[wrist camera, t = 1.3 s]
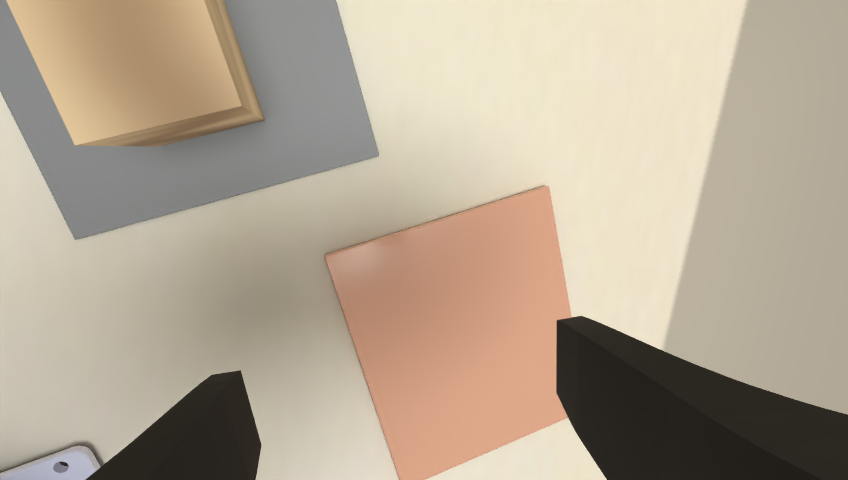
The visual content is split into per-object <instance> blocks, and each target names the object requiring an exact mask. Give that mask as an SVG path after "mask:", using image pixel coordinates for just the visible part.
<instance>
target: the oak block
mask: <svg viewBox="0 0 848 480" xmlns="http://www.w3.org/2000/svg"><path fill="white" fill-rule="evenodd" d="M6 1H7V3H8V5H9V7H10V9H11V12H12V14H13V16H14V18H15V20H16V22H17V24H18V26H19V28H20V31H21V33H22V35H23V37H24V39H25V41H26V43H27V45H28V47H29V50H30V52H31V54H32V56H33V58H34V60H35V62H36V64H37V66H38V69H39V71H40V73H41V75H42V77H43V79H44V81H45V83H46V85H47V88H48V90H49V92H50V94H51V96H52V98H53V100H54V102H55V104H56V107H57V109H58V111H59V113H60V115H61V117H62V119H63V121H64V123H65V126H66V128H67V130H68V132H69V134H70V136H71V138H72V140H73V143H74V145H75V146H147V147H160V146H164V145H168V144H172V143H176V142H180V141H184V140H188V139H192V138H196V137H200V136H204V135H209V134H213V133H217V132H221V131H225V130H229V129H233V128H237V127H241V126H245V125H249V124H253V123H257V122H261V121H265V117H264V115H263V112H262V109H261V106H260V103H259V100H258V97H257V94H256V91H255V88H254V86H253V83H252V80H251V77H250V74H249V71H248V68H247V65H246V62H245V59H244V57H243V54H242V51H241V48H240V45H239V42H238V39H237V36H236V33H235V31H234V28H233V25H232V22H231V19H230V16H229V13H228V10H227V7H226V4H225V2H224V0H6Z"/></svg>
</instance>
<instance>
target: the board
mask: <svg viewBox="0 0 848 480" xmlns="http://www.w3.org/2000/svg"><path fill="white" fill-rule="evenodd" d="M325 259H326V262H327V265H328V268H329V271H330V274H331V277H332V280H333V283H334V286H335V289H336V291H337V294H338V297H339V300H340V303H341V306H342V309H343V312H344V315H345V318H346V321H347V324H348V327H349V330H350V333H351V336H352V339H353V342H354V345H355V348H356V351H357V354H358V357H359V360H360V363H361V366H362V369H363V372H364V375H365V378H366V381H367V384H368V387H369V390H370V393H371V395H372V398H373V401H374V404H375V407H376V410H377V413H378V416H379V419H380V422H381V425H382V428H383V431H384V434H385V437H386V440H387V443H388V446H389V449H390V452H391V455H392V458H393V461H394V464H395V467H396V470H397V473H398V476H399V479H400V480H425V479H428V478H430V477H432V476H435V475H437V474H439V473H442V472H444V471H446V470H448V469H451V468H453V467H455V466H458V465H460V464H462V463H465V462H467V461H469V460H471V459H474V458H476V457H478V456H481V455H483V454H485V453H488V452H490V451H492V450H494V449H497V448H499V447H501V446H504V445H506V444H508V443H511V442H513V441H515V440H517V439H520V438H522V437H524V436H527V435H529V434H531V433H534V432H536V431H538V430H540V429H543V428H545V427H547V426H550V425H552V424H554V423H557V422H559V421H561V420H563V419H566V418H568V416H567V414H566V412H565V410H564V408H563V406H562V404H561V401H560V399H559V397H558V395H557V393H556V346H557V320H560V319H566V318H572V317H571V311H570V306H569V300H568V294H567V288H566V282H565V277H564V271H563V265H562V259H561V253H560V248H559V242H558V236H557V230H556V224H555V219H554V213H553V207H552V201H551V195H550V190H549V186H543V187H539V188H536V189H533V190H530V191H527V192H523V193H520V194H517V195H514V196H511V197H508V198H504V199H501V200H498V201H495V202H492V203H488V204H485V205H482V206H479V207H476V208H472V209H469V210H466V211H463V212H460V213H457V214H453V215H450V216H447V217H444V218H441V219H437V220H434V221H431V222H428V223H425V224H422V225H418V226H415V227H412V228H409V229H406V230H402V231H399V232H396V233H393V234H390V235H386V236H383V237H380V238H377V239H374V240H371V241H367V242H364V243H361V244H358V245H355V246H351V247H348V248H345V249H342V250H339V251H336V252H332V253H329V254H326V255H325Z"/></svg>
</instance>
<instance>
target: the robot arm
mask: <svg viewBox="0 0 848 480" xmlns="http://www.w3.org/2000/svg"><path fill="white" fill-rule="evenodd" d="M556 393H557V395H558V397H559V399H560V401H561V404H562V406H563V408H564V410H565V412H566V414H567V416H568V418H569V420H570V422H571V424H572V426H573V428H574V430H575V431H576V433H577V435H578V436H579V438H580V439H581V441H582V442H583V444H584V446H585V447H586V449H587V450H588V452H589V453H590V455H591V456H592V458H593V459H594V461H595V462H596V464H597V465H598V467H599V468H600V470H601V471H602V473H603V474H604V476H605V477H606V479H607V480H848V415H847V414H843V413H839V412H836V411H832V410H828V409H824V408H821V407H818V406H814V405H811V404H807V403H804V402H801V401H797V400H794V399H791V398H788V397H784V396H782V395H779V394H776V393H773V392H770V391H766V390H763V389H760V388H757V387H754V386H751V385H748V384H745V383H743V382H740V381H737V380H734V379H731V378H729V377H726V376H723V375H721V374H718V373H716V372H713V371H711V370H708V369H706V368H703V367H700V366H698V365H695V364H693V363H690V362H688V361H686V360H683V359H681V358H678V357H676V356H674V355H671V354H669V353H666V352H664V351H662V350H660V349H657V348H655V347H653V346H651V345H648V344H646V343H644V342H642V341H639V340H637V339H635V338H633V337H630V336H628V335H626V334H624V333H622V332H619V331H617V330H615V329H613V328H610V327H608V326H606V325H603V324H601V323H599V322H596V321H594V320H591V319H589V318H586V317H583V316H578V317H572V318H566V319H560V320H557V346H556ZM260 450H261V442H260V438H259V435H258V431H257V428H256V424H255V421H254V417H253V413H252V410H251V406H250V403H249V399H248V395H247V392H246V388H245V385H244V381H243V377H242V374H241V370H240V371H234V372H228V373H221V374H215V375H211V376H210V377H208V378H207V379H206V380H204V381H203V382H202V383H200V384H199V385H198V386H197V387H196V388H194V389H193V390H192V391H191V392H190V393H188V394H187V395H186V396H185V397H184V398H183V399H181V400H180V401H179V402H178V403H177V404H176V405H174V406H173V407H172V408H171V409H170V410H169V411H168V412H166V413H165V414H164V415H163V416H162V417H161V418H159V419H158V420H157V421H156V422H155V423H154V424H152V425H151V426H150V427H149V428H148V429H147V430H145V431H144V432H143V433H142V434H141V435H140V436H138V437H137V438H136V439H135V440H134V441H133V442H131V443H130V444H129V445H128V446H127V447H125V448H124V449H123V450H122V451H120V452H119V453H118V454H117V455H115V456H114V457H113V458H112V459H110V460H109V461H108V462H107V463H105V464H104V465H103V466H102V467H100V465H99V463H98V461H97V460H96V458H95V456H94V454H93V453H92V451H91V450H90V449H89V448H87V447H85V446H75V447H71V448H68V449H66V450H63V451H60V452H57V453H54V454H52V455H49V456H46V457H43V458H41V459H38V460H35V461H32V462H29V463H27V464H24V465H21V466H18V467H16V468H13V469H10V470H7V471H4V472H2V473H0V480H255V479H256V474H257V468H258V462H259V456H260ZM61 461H62V462H66V463H67V464H68V466H63V465H61V464H60V463H59V462H61Z"/></svg>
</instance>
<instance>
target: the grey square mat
mask: <svg viewBox="0 0 848 480" xmlns="http://www.w3.org/2000/svg"><path fill="white" fill-rule="evenodd" d="M224 2H225V4H226V7H227V10H228V13H229V16H230V19H231V22H232V25H233V28H234V31H235V33H236V36H237V39H238V42H239V45H240V48H241V51H242V54H243V57H244V59H245V62H246V65H247V68H248V71H249V74H250V77H251V80H252V83H253V86H254V88H255V91H256V94H257V97H258V100H259V103H260V106H261V109H262V112H263V115H264V117H265V121H261V122H257V123H253V124H249V125H245V126H241V127H237V128H233V129H229V130H225V131H221V132H217V133H213V134H209V135H204V136H200V137H196V138H192V139H188V140H184V141H180V142H176V143H172V144H168V145H164V146H160V147H147V146H75V145H74V143H73V140H72V138H71V136H70V134H69V132H68V130H67V128H66V126H65V123H64V121H63V119H62V117H61V115H60V113H59V111H58V109H57V107H56V104H55V102H54V100H53V98H52V96H51V94H50V92H49V90H48V88H47V85H46V83H45V81H44V79H43V77H42V75H41V73H40V71H39V69H38V66H37V64H36V62H35V60H34V58H33V56H32V54H31V52H30V50H29V47H28V45H27V43H26V41H25V39H24V37H23V35H22V33H21V31H20V28H19V26H18V24H17V22H16V20H15V18H14V16H13V14H12V12H11V9H10V7H9V5H8V3H7V1H6V0H0V92H1V94H2V96H3V98H4V100H5V102H6V104H7V106H8V108H9V109H10V111H11V113H12V115H13V117H14V119H15V121H16V123H17V125H18V127H19V129H20V131H21V133H22V135H23V137H24V139H25V141H26V143H27V145H28V147H29V149H30V151H31V153H32V155H33V157H34V159H35V161H36V163H37V165H38V167H39V169H40V171H41V173H42V175H43V177H44V179H45V181H46V183H47V185H48V187H49V189H50V191H51V193H52V195H53V197H54V199H55V201H56V203H57V205H58V207H59V209H60V211H61V213H62V215H63V217H64V219H65V221H66V223H67V225H68V227H69V229H70V231H71V233H72V234H73V236H74V238H75V240H77V239H80V238H84V237H88V236H91V235H95V234H99V233H102V232H106V231H109V230H113V229H117V228H120V227H124V226H127V225H131V224H135V223H138V222H142V221H146V220H149V219H153V218H156V217H160V216H164V215H167V214H171V213H175V212H178V211H182V210H185V209H189V208H193V207H196V206H200V205H204V204H207V203H211V202H214V201H218V200H222V199H225V198H229V197H232V196H236V195H240V194H243V193H247V192H251V191H254V190H258V189H261V188H265V187H269V186H272V185H276V184H280V183H283V182H287V181H290V180H294V179H298V178H301V177H305V176H308V175H312V174H316V173H319V172H323V171H327V170H330V169H334V168H337V167H341V166H345V165H348V164H352V163H356V162H359V161H363V160H366V159H370V158H374V157H377V156H379V153H378V149H377V146H376V142H375V139H374V135H373V132H372V128H371V124H370V121H369V117H368V114H367V110H366V107H365V103H364V99H363V96H362V92H361V89H360V85H359V81H358V78H357V74H356V71H355V67H354V64H353V60H352V56H351V53H350V49H349V46H348V42H347V38H346V35H345V31H344V28H343V24H342V21H341V17H340V13H339V10H338V6H337V3H336V0H224Z"/></svg>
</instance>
